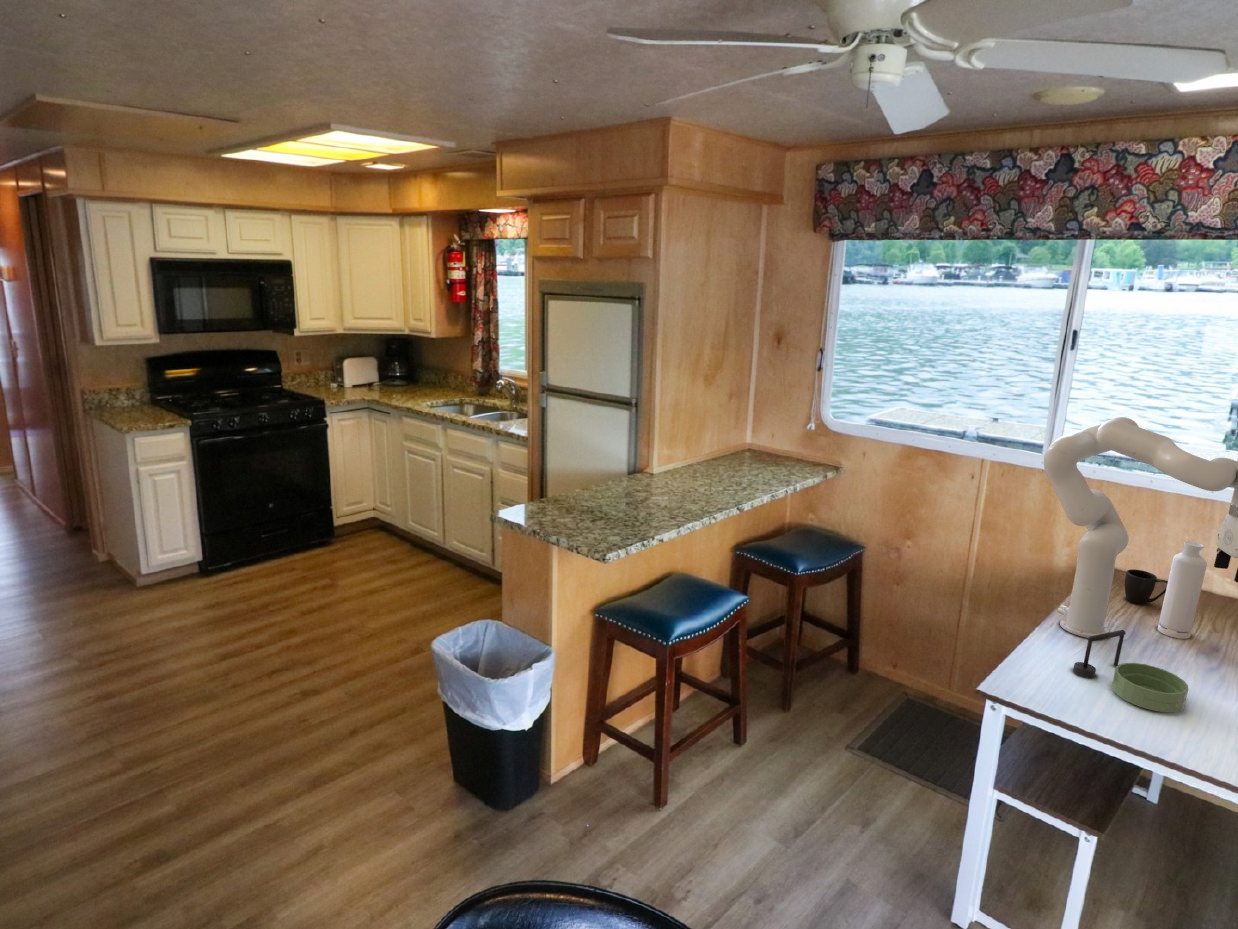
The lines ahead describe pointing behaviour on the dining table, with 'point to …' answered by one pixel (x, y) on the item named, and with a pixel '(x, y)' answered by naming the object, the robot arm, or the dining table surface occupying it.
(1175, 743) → the dining table surface
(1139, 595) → the mug
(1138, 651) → the dining table surface
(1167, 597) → the bottle
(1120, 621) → the dining table surface
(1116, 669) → the bowl
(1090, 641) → the ladle
